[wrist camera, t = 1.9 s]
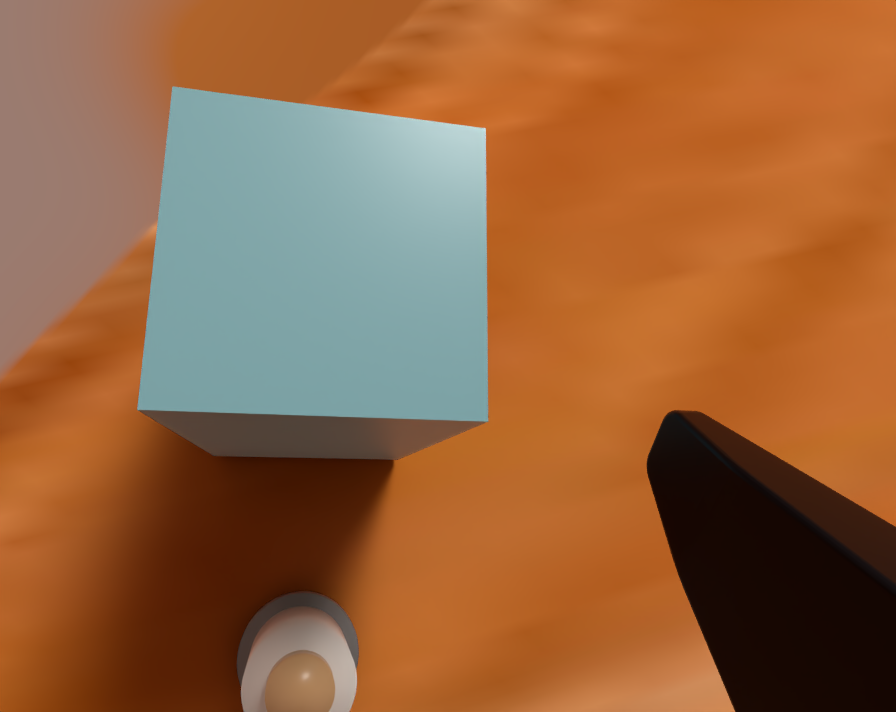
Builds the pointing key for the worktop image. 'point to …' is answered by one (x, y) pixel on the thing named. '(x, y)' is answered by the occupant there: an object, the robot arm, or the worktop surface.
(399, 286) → the pale teal block
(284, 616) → the post
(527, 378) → the worktop surface
